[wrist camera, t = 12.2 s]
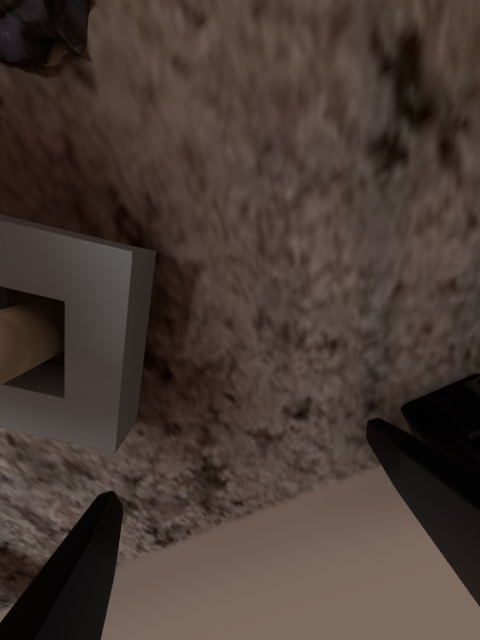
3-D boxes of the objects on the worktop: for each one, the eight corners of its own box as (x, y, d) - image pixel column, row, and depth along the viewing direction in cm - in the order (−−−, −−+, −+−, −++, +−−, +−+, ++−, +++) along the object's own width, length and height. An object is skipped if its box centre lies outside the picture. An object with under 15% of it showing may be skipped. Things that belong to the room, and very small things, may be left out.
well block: (156, 251, 17) (132, 251, 13) (136, 421, 21) (115, 452, 18) (-54, 201, 17) (-131, 188, 13) (-29, 383, 21) (-82, 408, 18)
